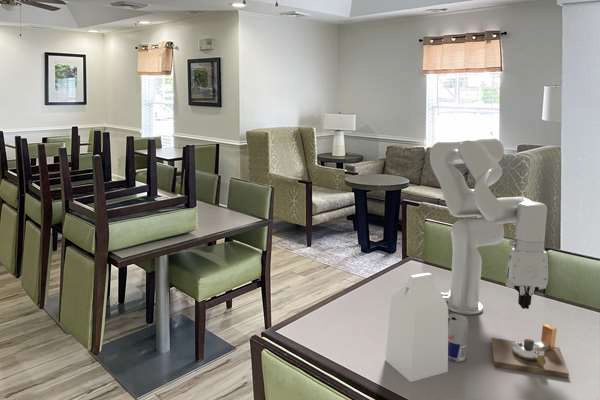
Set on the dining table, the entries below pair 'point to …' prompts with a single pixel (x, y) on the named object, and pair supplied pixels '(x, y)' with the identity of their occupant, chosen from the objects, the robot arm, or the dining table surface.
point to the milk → (418, 329)
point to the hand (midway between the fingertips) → (524, 306)
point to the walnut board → (545, 363)
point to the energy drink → (457, 337)
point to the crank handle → (537, 344)
